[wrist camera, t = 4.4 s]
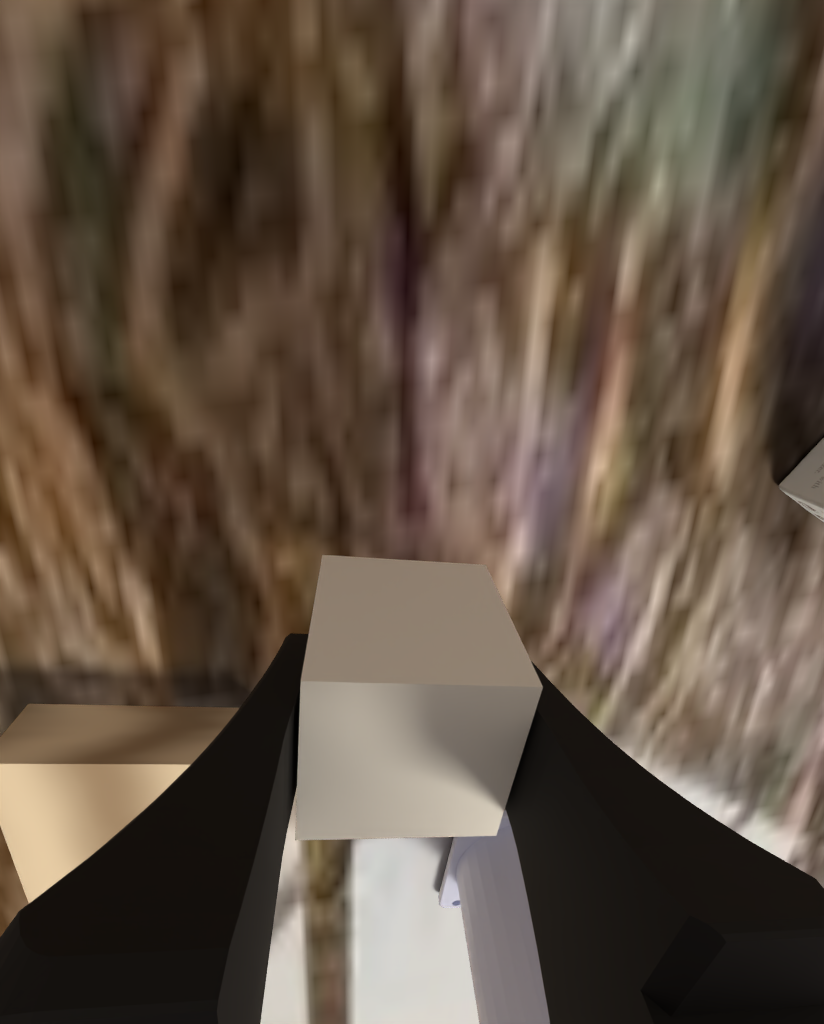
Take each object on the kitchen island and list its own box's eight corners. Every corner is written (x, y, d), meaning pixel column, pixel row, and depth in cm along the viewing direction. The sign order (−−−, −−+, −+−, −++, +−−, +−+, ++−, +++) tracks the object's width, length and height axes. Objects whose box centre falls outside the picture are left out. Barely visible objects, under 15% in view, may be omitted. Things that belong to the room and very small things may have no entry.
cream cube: (486, 564, 13) (542, 687, 9) (459, 686, 14) (496, 835, 10) (322, 554, 12) (300, 681, 8) (315, 683, 14) (295, 840, 10)
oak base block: (266, 700, 19) (251, 764, 17) (266, 832, 23) (253, 902, 20) (35, 695, 18) (-23, 763, 16) (73, 835, 22) (31, 910, 19)
